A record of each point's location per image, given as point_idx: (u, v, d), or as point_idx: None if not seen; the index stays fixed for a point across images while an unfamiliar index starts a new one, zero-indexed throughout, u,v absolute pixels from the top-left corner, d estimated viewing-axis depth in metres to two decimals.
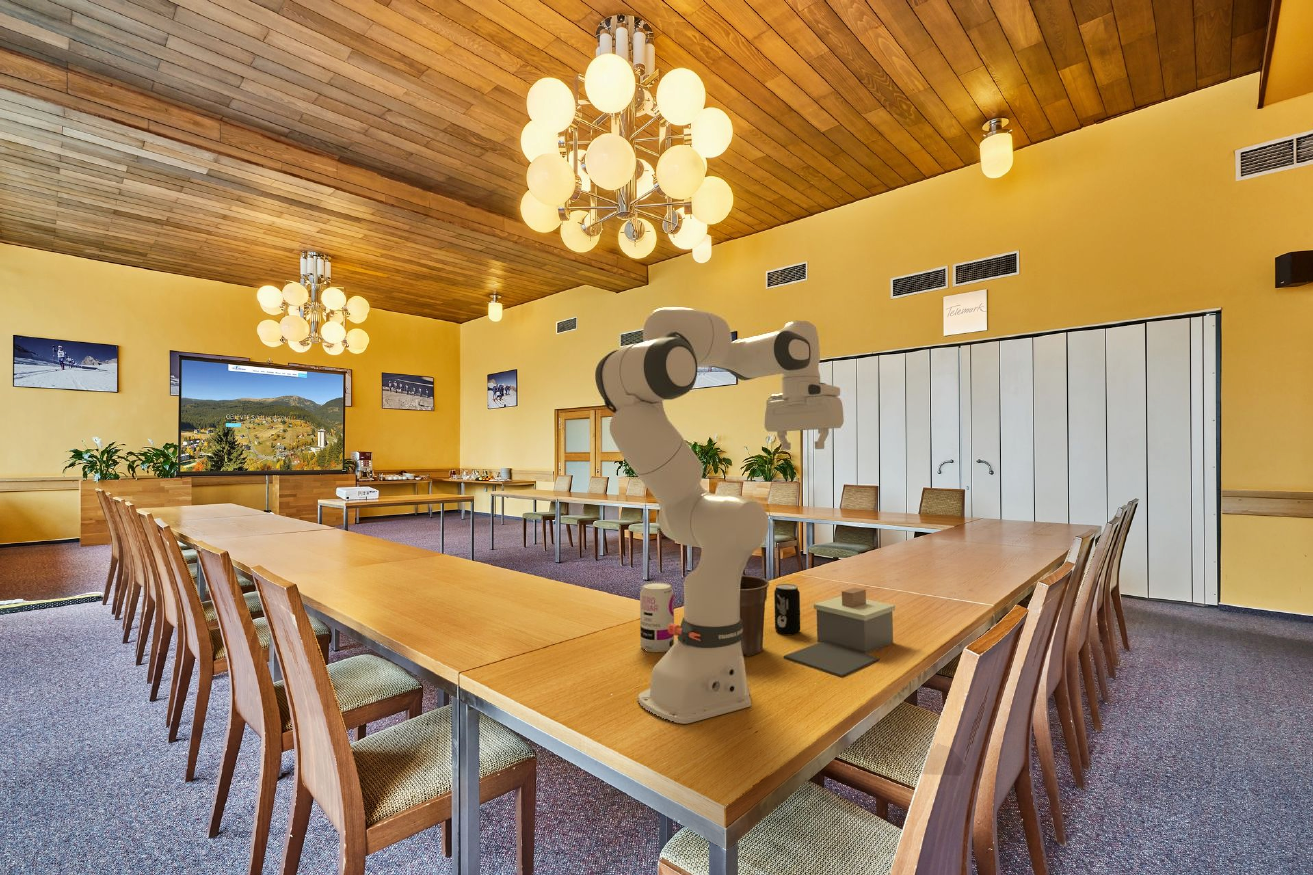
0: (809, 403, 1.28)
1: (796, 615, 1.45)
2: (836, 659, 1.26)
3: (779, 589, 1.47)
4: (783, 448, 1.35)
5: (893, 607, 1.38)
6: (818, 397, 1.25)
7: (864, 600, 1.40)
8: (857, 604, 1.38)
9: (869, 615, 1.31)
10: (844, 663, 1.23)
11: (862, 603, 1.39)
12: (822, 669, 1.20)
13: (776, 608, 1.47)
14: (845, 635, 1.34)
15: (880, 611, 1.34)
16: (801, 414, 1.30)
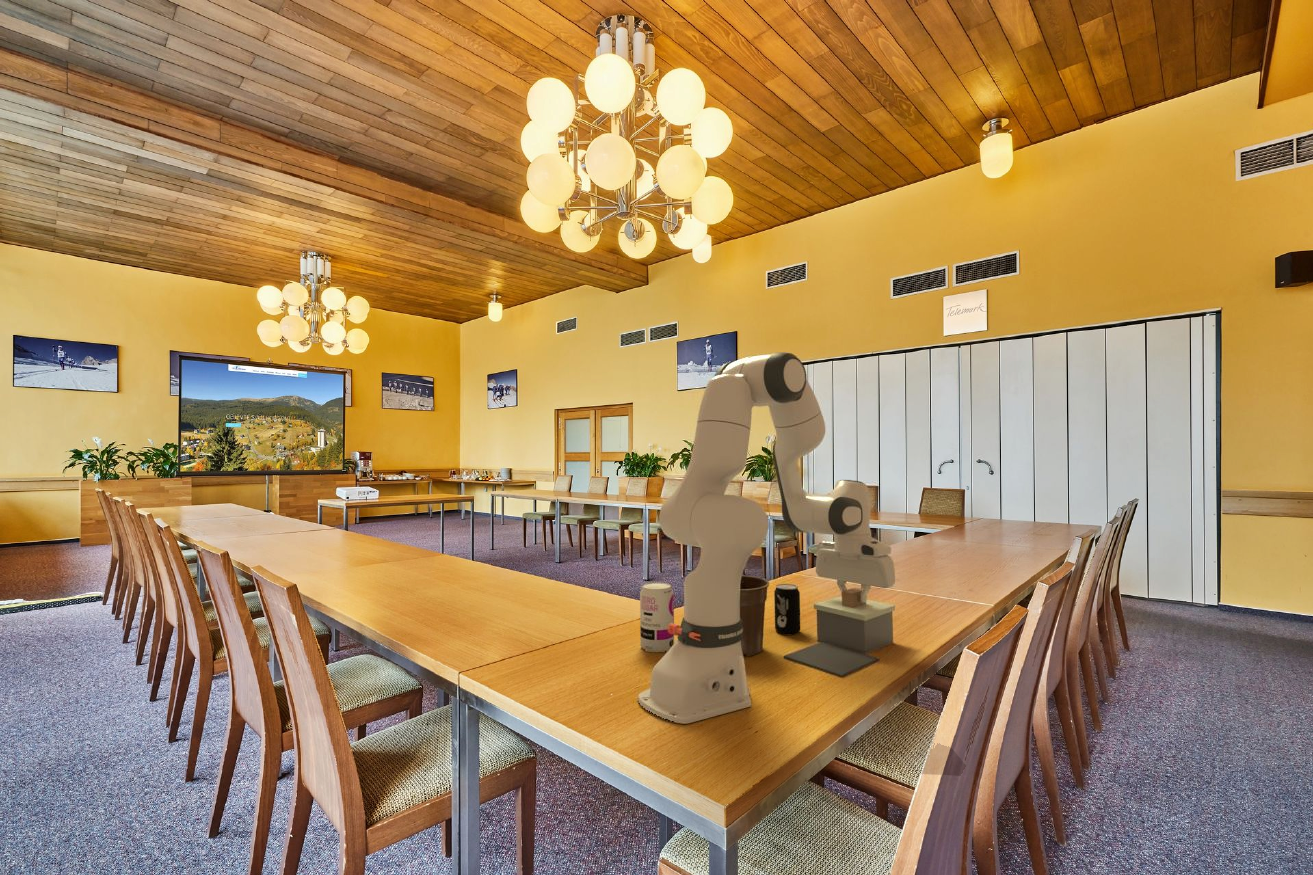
0: (862, 560, 1.36)
1: (796, 615, 1.45)
2: (836, 659, 1.26)
3: (779, 589, 1.47)
4: None
5: (893, 607, 1.38)
6: (871, 558, 1.33)
7: None
8: (857, 604, 1.38)
9: (869, 615, 1.31)
10: (844, 663, 1.23)
11: (862, 603, 1.39)
12: (822, 669, 1.20)
13: (776, 608, 1.47)
14: (845, 635, 1.34)
15: (880, 611, 1.34)
16: (853, 569, 1.38)
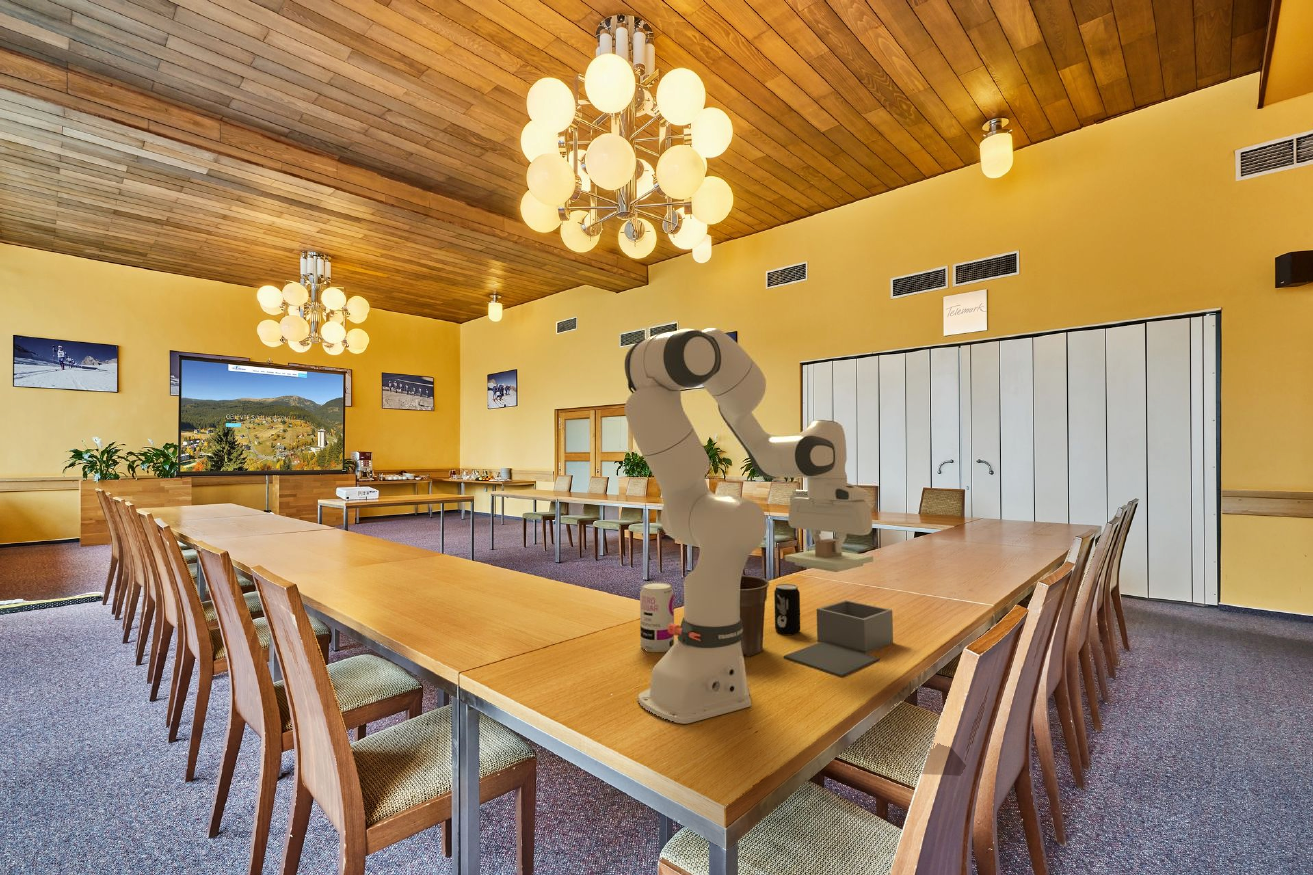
0: (836, 506, 1.24)
1: (796, 615, 1.45)
2: (836, 659, 1.26)
3: (779, 589, 1.47)
4: None
5: (871, 558, 1.27)
6: (846, 502, 1.22)
7: None
8: (832, 555, 1.27)
9: (843, 564, 1.20)
10: (844, 663, 1.23)
11: (837, 554, 1.28)
12: (822, 669, 1.20)
13: (776, 608, 1.47)
14: (845, 635, 1.34)
15: (856, 561, 1.23)
16: (827, 516, 1.27)
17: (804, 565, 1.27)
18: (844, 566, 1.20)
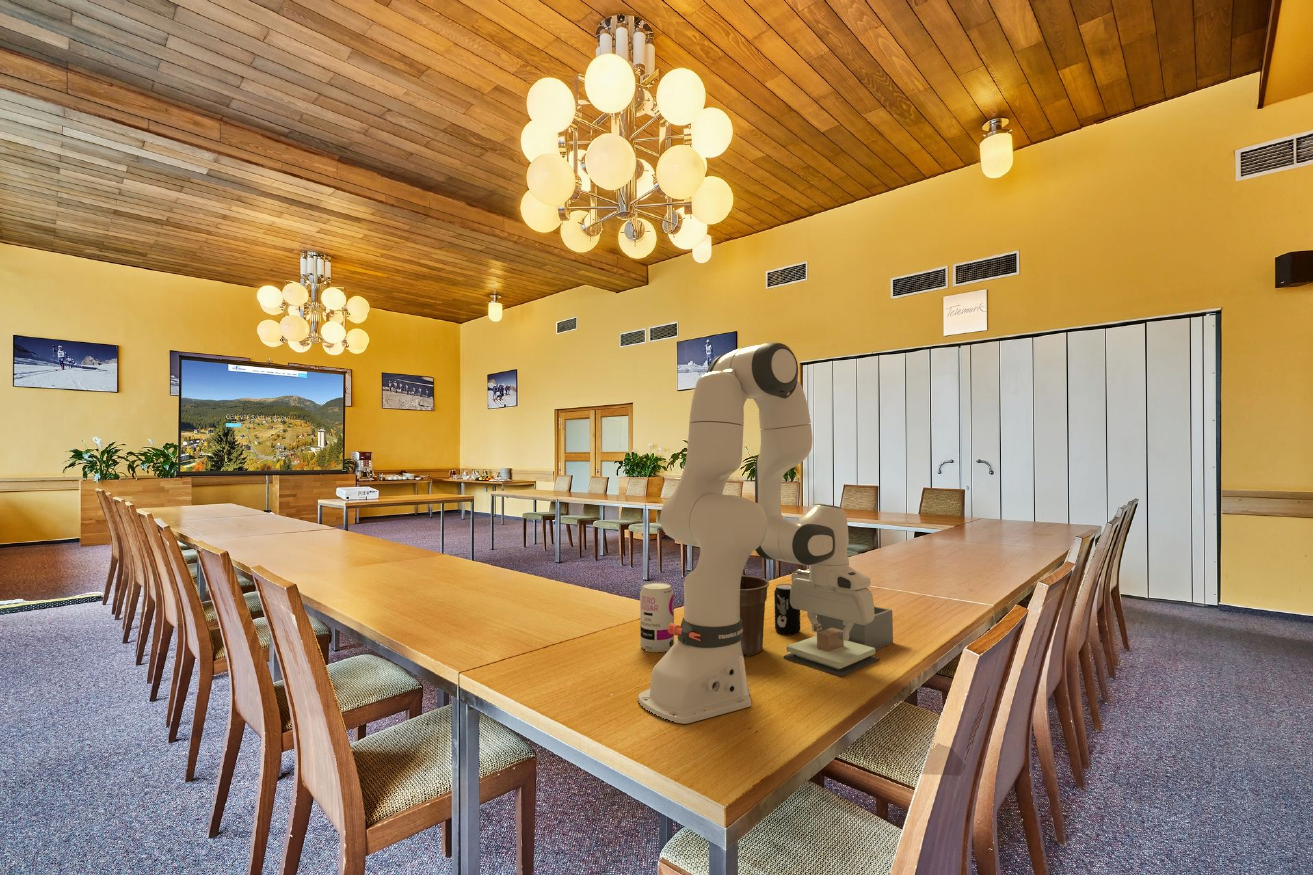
0: (838, 593, 1.24)
1: (796, 615, 1.45)
2: None
3: (779, 589, 1.47)
4: (814, 630, 1.30)
5: (873, 650, 1.26)
6: (848, 591, 1.21)
7: (841, 642, 1.28)
8: (833, 647, 1.26)
9: (845, 662, 1.19)
10: None
11: (839, 646, 1.27)
12: (822, 669, 1.20)
13: (776, 608, 1.47)
14: None
15: (858, 656, 1.22)
16: (829, 602, 1.26)
17: (806, 657, 1.26)
18: (846, 664, 1.19)
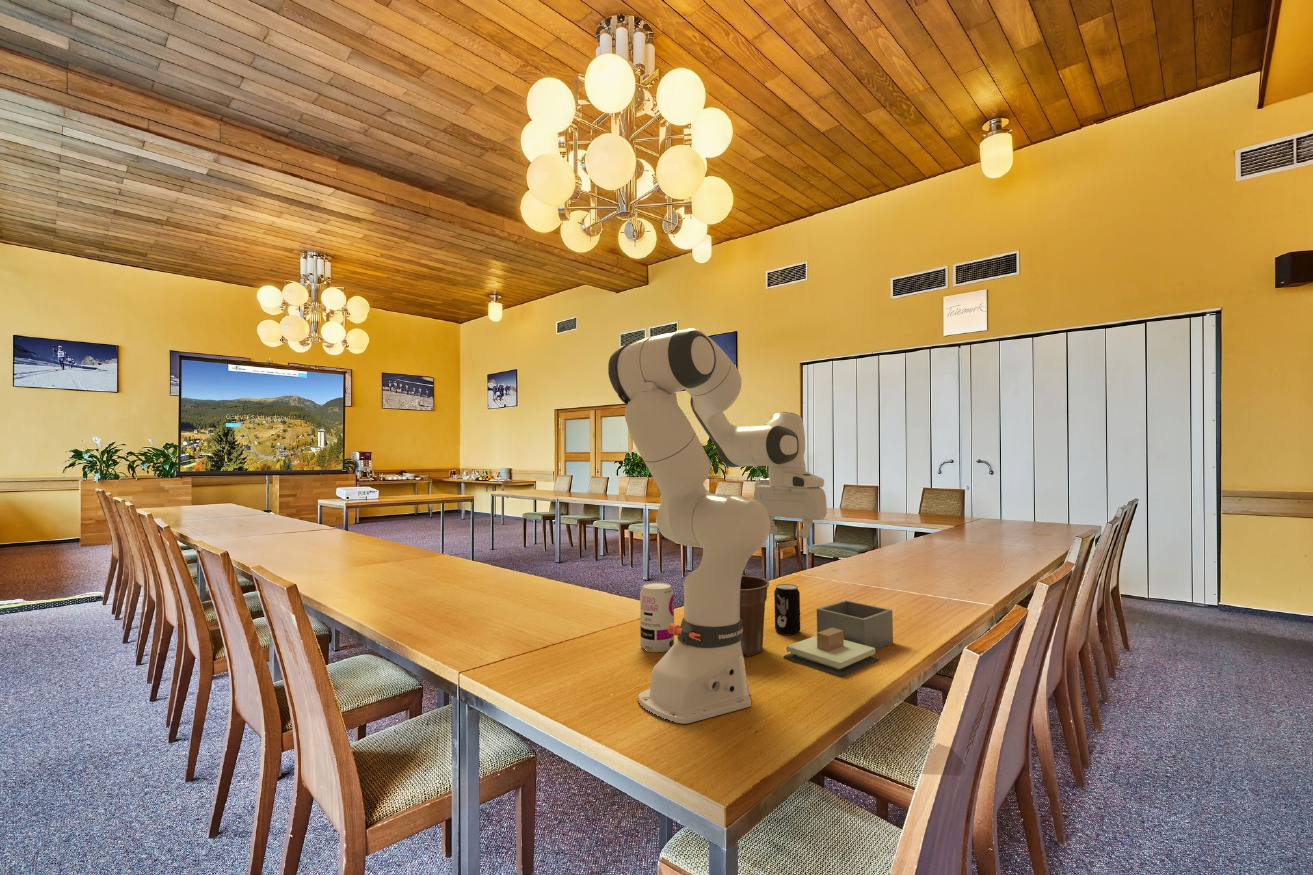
0: (794, 493, 1.32)
1: (796, 615, 1.45)
2: None
3: (779, 589, 1.47)
4: (770, 532, 1.39)
5: (873, 650, 1.26)
6: (802, 489, 1.30)
7: (841, 642, 1.28)
8: (833, 647, 1.26)
9: (845, 662, 1.19)
10: None
11: (839, 646, 1.27)
12: (822, 669, 1.20)
13: (776, 608, 1.47)
14: (845, 635, 1.34)
15: (858, 656, 1.22)
16: (786, 503, 1.34)
17: (806, 657, 1.26)
18: (846, 664, 1.19)
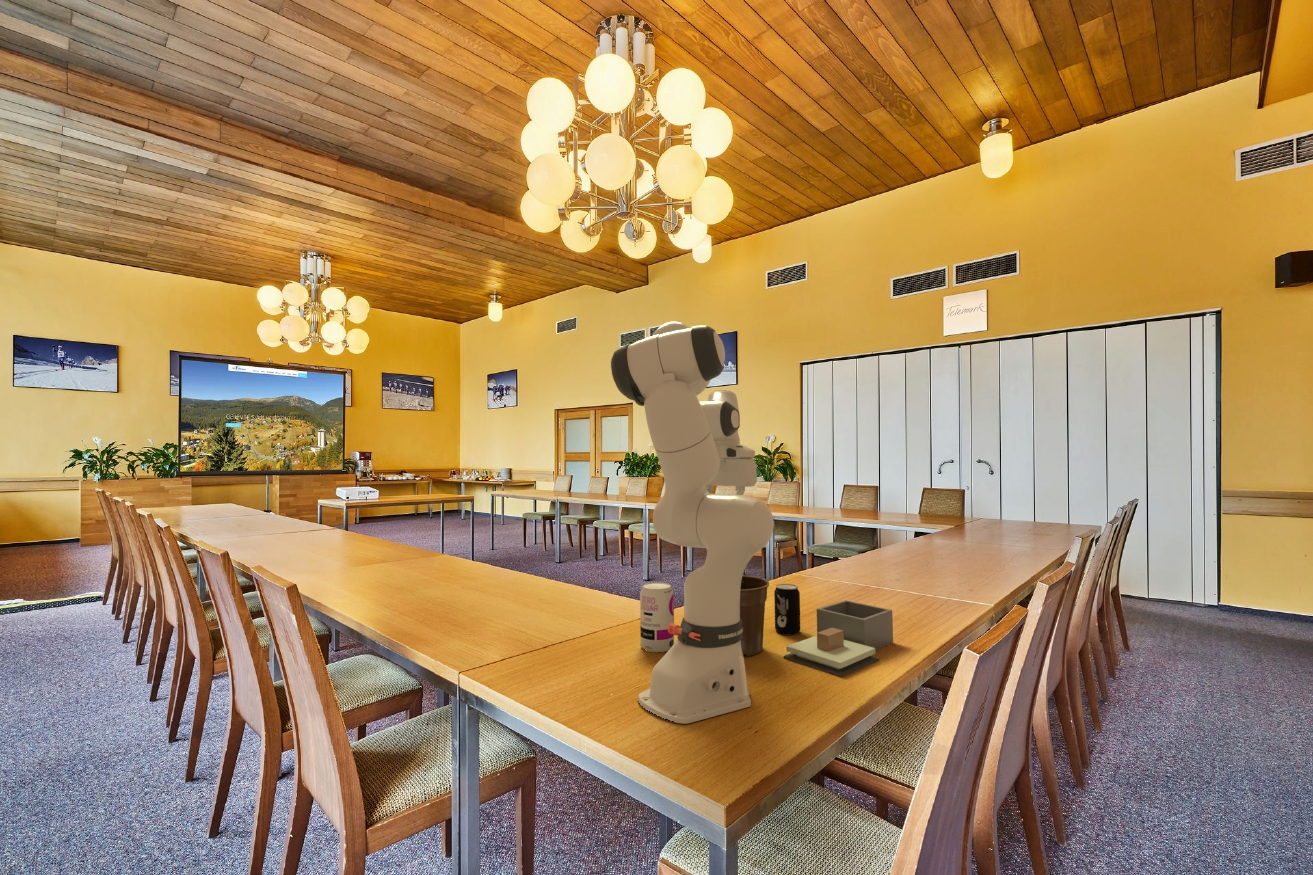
0: (728, 463, 1.46)
1: (796, 615, 1.45)
2: None
3: (779, 589, 1.47)
4: None
5: (873, 650, 1.26)
6: (734, 459, 1.44)
7: (841, 642, 1.28)
8: (833, 647, 1.26)
9: (845, 662, 1.19)
10: None
11: (839, 646, 1.27)
12: (822, 669, 1.20)
13: (776, 608, 1.47)
14: (845, 635, 1.34)
15: (858, 656, 1.22)
16: (722, 473, 1.48)
17: (806, 657, 1.26)
18: (846, 664, 1.19)
